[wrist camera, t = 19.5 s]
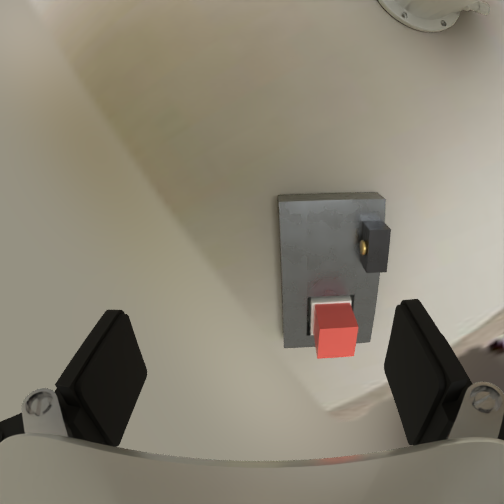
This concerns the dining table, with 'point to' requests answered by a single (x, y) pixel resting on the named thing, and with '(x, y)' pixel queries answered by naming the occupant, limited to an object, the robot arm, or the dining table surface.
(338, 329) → the red block
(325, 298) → the button
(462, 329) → the dining table surface
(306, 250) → the panel
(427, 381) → the robot arm
